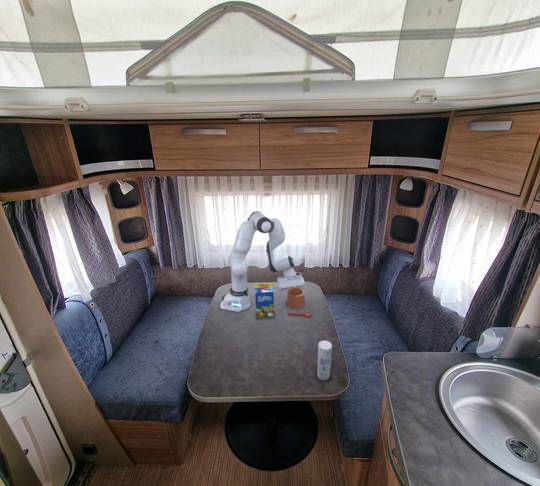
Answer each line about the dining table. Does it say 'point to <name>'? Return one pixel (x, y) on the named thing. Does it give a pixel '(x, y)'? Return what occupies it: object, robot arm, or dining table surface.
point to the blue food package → (264, 300)
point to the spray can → (324, 359)
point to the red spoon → (300, 314)
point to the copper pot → (295, 297)
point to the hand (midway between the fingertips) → (293, 293)
